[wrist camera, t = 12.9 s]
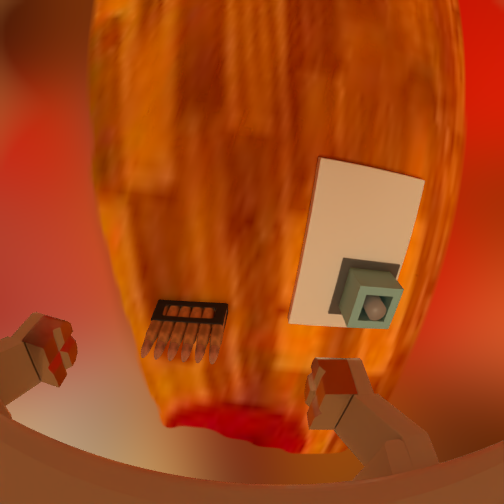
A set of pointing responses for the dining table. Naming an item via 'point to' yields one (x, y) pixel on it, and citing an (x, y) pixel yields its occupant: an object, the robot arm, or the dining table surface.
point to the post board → (351, 236)
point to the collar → (369, 284)
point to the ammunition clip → (186, 328)
